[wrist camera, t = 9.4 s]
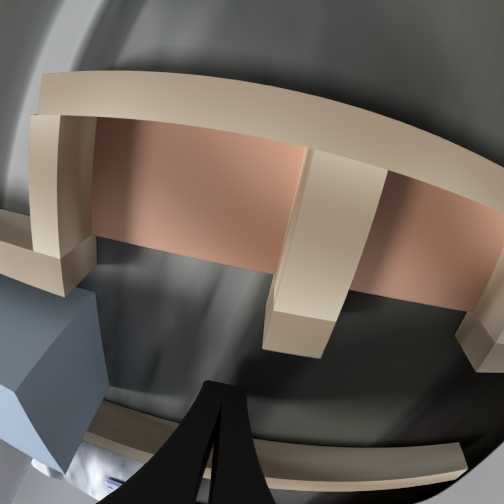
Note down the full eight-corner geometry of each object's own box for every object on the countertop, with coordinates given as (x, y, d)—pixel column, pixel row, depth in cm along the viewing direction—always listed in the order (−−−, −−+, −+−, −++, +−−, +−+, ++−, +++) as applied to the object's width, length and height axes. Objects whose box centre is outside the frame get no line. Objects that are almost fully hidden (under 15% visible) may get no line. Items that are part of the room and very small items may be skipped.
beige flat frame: (447, 453, 13) (459, 492, 10) (15, 372, 13) (-11, 407, 10) (590, 229, 7) (633, 260, 4) (-27, 89, 7) (-85, 98, 4)
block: (110, 384, 12) (65, 474, 8) (26, 351, 12) (-27, 419, 8) (96, 291, 10) (14, 392, 5) (2, 261, 10) (-78, 327, 6)
